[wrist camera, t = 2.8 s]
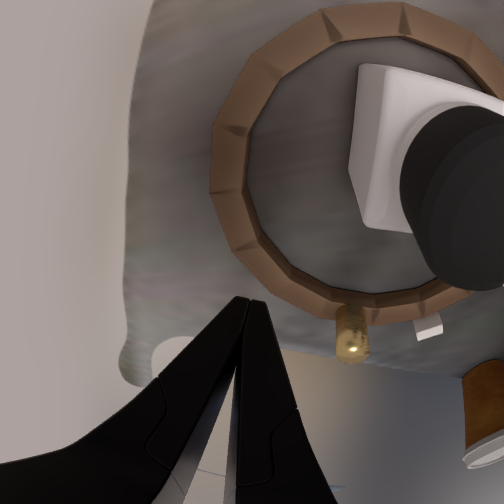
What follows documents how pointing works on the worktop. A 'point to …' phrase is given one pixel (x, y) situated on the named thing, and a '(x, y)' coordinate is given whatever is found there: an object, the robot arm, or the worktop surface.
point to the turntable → (237, 153)
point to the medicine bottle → (432, 170)
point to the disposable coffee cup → (484, 414)
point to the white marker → (428, 326)
